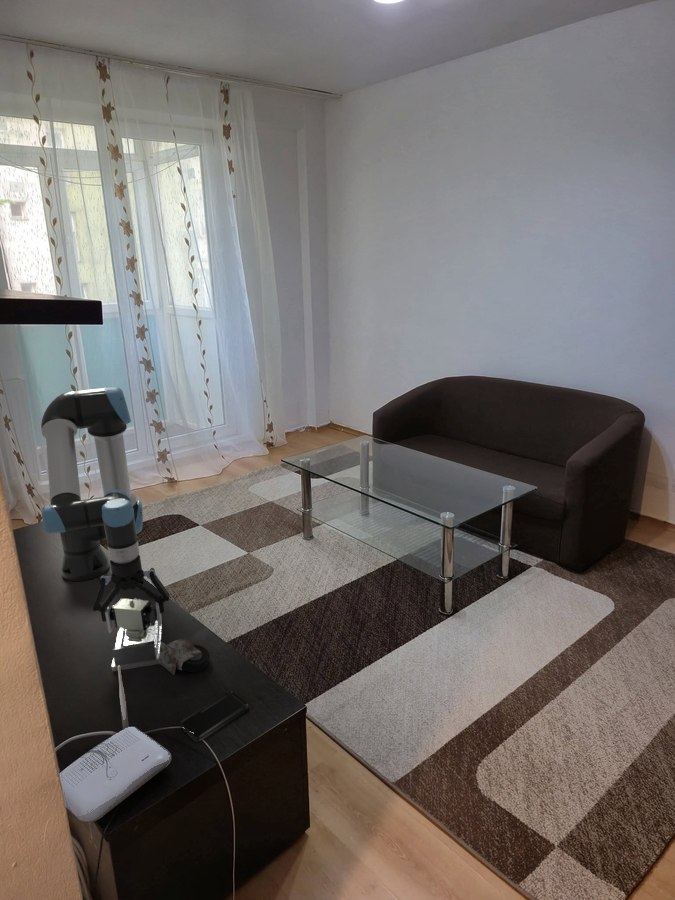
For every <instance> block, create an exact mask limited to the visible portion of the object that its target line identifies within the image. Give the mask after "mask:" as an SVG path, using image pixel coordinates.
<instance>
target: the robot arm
mask: <svg viewBox="0 0 675 900" xmlns="http://www.w3.org/2000/svg"><path fill="white" fill-rule="evenodd" d="M41 419H42V420H41V422H40V423H41V424H40V425H41V427H40V429H41V435H42V436H43V438H44V439H45V442H46V443H45V444H46V455H47V456H46V458H47V471H48V473H47V474H48V487H49V488H48V489H49V498H50V499H49V500H50V504H48V505H44V506H43V507H42V508H41V517H42V524H43V528H44V530H45V532H46V533H47V534H60V540H61V545H62V550H63V557H62V560H61V567H60V568H61V575H62V576H61V577H62V578H63V579H65V580H67V581H71V582H83V581H88V580H91V579H94V578H98V577H100V579H99V588H98V591H97V594H96V596H95V600H94V603H93V605H92V612H100V615H101V621H102V622H105V623H106V626H107V632H108V634H112V632H113V621H112V620H111V619H110V615H109V613H110V609H111V608H110V604H111V603H112V601H113V600H114V598H115V597H116V596H117V594H119V592H120V590H122V591H128V590H135V589H138V590H139V591H142V592H143V593H145V594H146V595H147V596H148V597H149V598H150V599H151V600H153V601H155V608H156V611H157V618H156V619H157V620H158V625H159V626H161V624H162V622H163V619H162V614H164V613H165V604H164V603H165V602H169V600H170V592H169V590H167V588H166V587H165V586H164V584H163V582H162V581H161V580H160V578H159V577H158V576H157V574H156V570H155V568H154V567H151V568H150V569H149V570H143V568H142V561H141V555H140V547H139V540H138V536H137V535H138V534H139V533H141V531H142V530H143V525H144V513H143V504H142V500H141V499H138V498H137V496H136V494H134V493H133V492H132V490H131V489H132V488H131V484H130V477H129V469H128V462H127V455H126V448H125V440H124V433H125V431H126V430H127V429H128V427H127V425H128V424H130V423H131V422H132V421H131V415H130V413H129V408H128V404H127V400H126V397H125V393H124V391H123V389H121V388H120V387H116V386H114V387H113V386H112V387H111V386H110V387H108V386H105V387H100V388H99V387H98V388H93V389H92V388H91V389H90V388H89V389H83V390H82V389H81V390H70V391H66V392H64V393H61V394H60V395H58V396H57V397H55V398H54V399H53V400H52V401H51V402H49V405H48V406H47V407H46V409H45V411H44V412H43V416H42V418H41ZM80 429H81V430H83V429H86V430H87V433H88V435H89V436H91V437H93V440H94V443H95V451H96V456H97V463H98V468H99V474H100V480H101V488H102V491H103V496H101V497H93V498H87V499H86V498H85V499H81V498H82V497H81V489H80V488H81V487H80V479H79V472H78V471H79V469H78V462H77V461H78V460H77V449H76V441H75V437H76V436H77V434H78V430H80ZM105 540H106V545H107V551H108V556H107V554H106V553H105V550H103V547H102V546H101V542H100V541H105ZM109 568H111V569H110V570H111V575H106V574H105V573H106V572H107V571H108V569H109ZM145 577H146V578H147V579H148V580H150V582H151V583H152V585H153V587H154V588H155V589H154V588H153V587H152V586H151V585H149V584H148V583H147V582H146V581H145V580H144V578H145ZM110 582H111V583H113V584H114V585H113V588H111V590H110V592H109V593H108V594H107V596H106V597H105V599H104V600H103V602H101V600H102V599H103V598H102V597H103V595H104V592H105V588H106V586H108V585H109V583H110ZM156 590H157V591H156Z"/></svg>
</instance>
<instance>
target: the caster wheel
mask: <svg viewBox="0 0 675 900" xmlns="http://www.w3.org/2000/svg"><path fill="white" fill-rule="evenodd" d="M209 659H210V653H209V651H208V650H207V648H206V647H204V646H202V645H200V644H196V643H192V641H190V640H187V639H182V638H181V639H176V640H174V641H171V642H169V643H168V644H166V643H164V641H161V646H160V651H159V657H158V662H159V663H160V664H159V665H161V666H162V667H163V668H165V669H166V670H167V671H168V672H170V674H172V675H173V676H175V674H176V669H177V670H179V671H185V672H189V673H199V672H201V671H204V670H205V669H206V668H207V667H208V665H209Z"/></svg>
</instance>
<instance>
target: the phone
mask: <svg viewBox="0 0 675 900" xmlns="http://www.w3.org/2000/svg"><path fill="white" fill-rule="evenodd" d="M248 710H249V703H248V702H247V701H245V700H244V699H243V698H242V697H240V696H239V695H238V694H237V693H235V692H234V691H231V690H229V691H226V692H225V693H223V694H222V695H221V696H218V697H217V698H216V699H214V700H213V701H211V702H209V703H207V704H206V705H205V706H203V707H201V708H199V709H198V710H196V711H195V712H193V713H191V714H190V715H188V716H187V717H185V718H184V719H182V720H181V721H180V722H179V727H180V726H181V727H184V728H185V729H184V730H185V731H184V730H183V731H184V733H186V732H187V733H186V734H187V735H188V736H189V738H190V739H192V741H194V742H196V743H198V742H201V741H202V740H201V739H203V740H204V739H206V738H208V737H209V736H211V735H212V734H213V733H215V732H217V731H218V730H219V729H221V728H222V727H224V726H226V725H228V723H230V722H232V721H233V720H235V719H236V718H238V717H239V716H241V715H242V714H244V713H245V712H247V711H248ZM181 727H180V728H181ZM189 731H191V732H194V734H193V733H190V732H189Z"/></svg>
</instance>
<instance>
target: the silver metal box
mask: <svg viewBox="0 0 675 900" xmlns="http://www.w3.org/2000/svg"><path fill="white" fill-rule="evenodd" d="M126 630H127V629H126V628H119V630H117V636H116V642H115V646H113V647H112V648H111V649H112V650H111V652H112V658H113V659H112V663H111V669H112V672H117V666H118V665H120V666H121V668H122V670H121V671H124V670H129V669H135V668H142V667H143V668H144V667H149V666H153V665H154V666H156V665H161V664H160V663H159V662H158V657H159V651H160V646H161V642H162V641H163V640H162V636H163V625H162V624H161V626H159V625H158V619H156V621H155V623H154V624H153V625H150V626H149V627H148V629H147V636H146V638H144V639H142V641H141V642H134V641H129V640H128V638H129V637H127V636H126ZM161 640H162V641H161Z"/></svg>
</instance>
